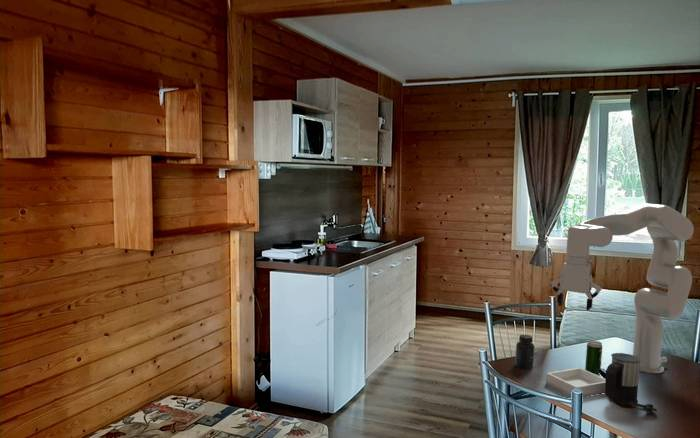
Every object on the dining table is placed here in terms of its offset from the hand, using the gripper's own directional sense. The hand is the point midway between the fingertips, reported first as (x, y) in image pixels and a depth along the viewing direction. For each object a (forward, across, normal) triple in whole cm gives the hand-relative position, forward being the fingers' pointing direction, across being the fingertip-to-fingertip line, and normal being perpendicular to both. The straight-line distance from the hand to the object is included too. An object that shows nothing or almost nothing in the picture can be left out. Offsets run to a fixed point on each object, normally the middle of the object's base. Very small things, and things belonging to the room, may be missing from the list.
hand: (574, 307), depth 202 cm
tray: (+27, -4, +6) cm, 28 cm away
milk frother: (+28, -22, +10) cm, 37 cm away
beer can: (+28, -5, -13) cm, 31 cm away
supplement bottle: (+27, +18, -4) cm, 33 cm away
